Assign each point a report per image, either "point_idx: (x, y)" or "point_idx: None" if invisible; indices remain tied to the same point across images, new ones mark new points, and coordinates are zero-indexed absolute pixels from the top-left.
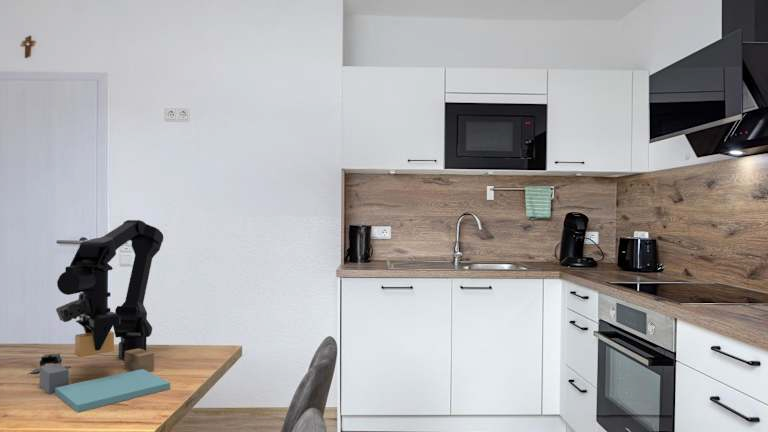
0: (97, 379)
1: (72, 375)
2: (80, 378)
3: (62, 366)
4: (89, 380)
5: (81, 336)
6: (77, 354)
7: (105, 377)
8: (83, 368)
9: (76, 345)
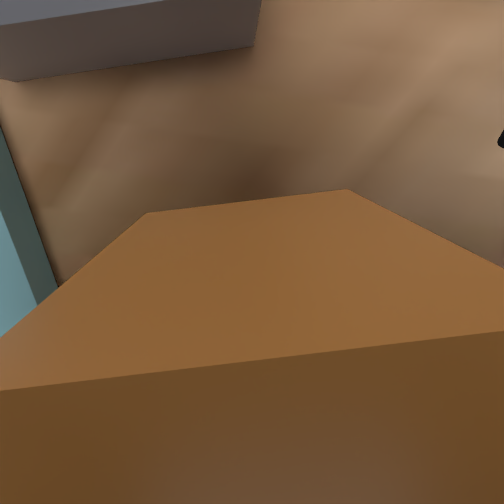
0: (3, 267)
1: (368, 160)
2: (257, 193)
3: (66, 4)
4: (2, 220)
5: (106, 457)
6: (239, 205)
7: (26, 314)
8: (484, 243)
9: (308, 229)
